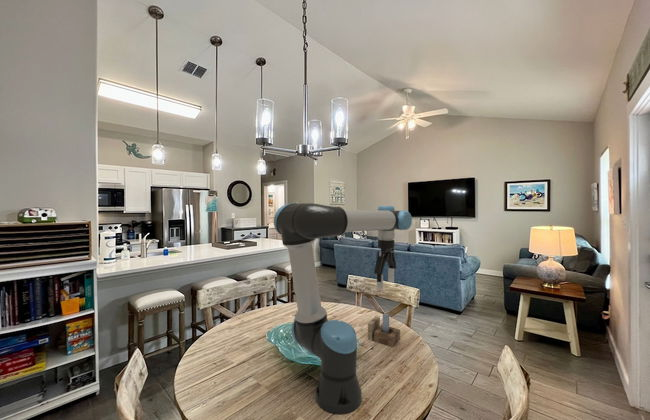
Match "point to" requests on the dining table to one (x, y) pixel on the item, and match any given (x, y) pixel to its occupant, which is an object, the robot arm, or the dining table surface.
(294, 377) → the dining table surface
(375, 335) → the block
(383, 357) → the dining table surface
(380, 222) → the robot arm
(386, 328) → the dowel
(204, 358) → the dining table surface
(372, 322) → the jig
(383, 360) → the dining table surface
